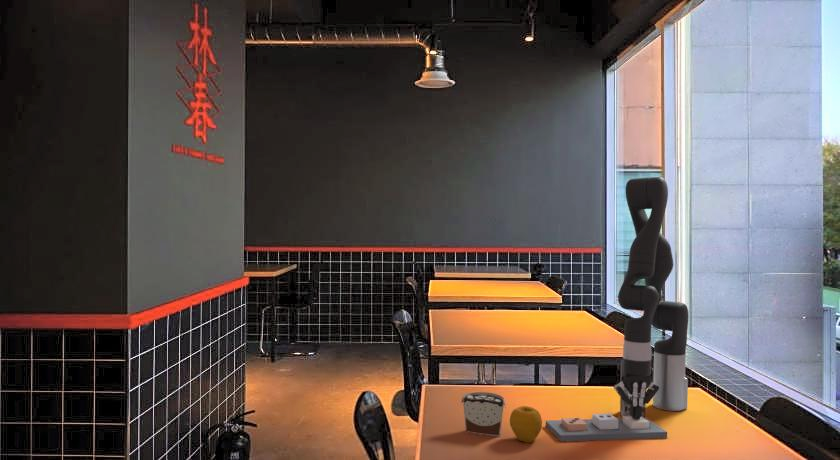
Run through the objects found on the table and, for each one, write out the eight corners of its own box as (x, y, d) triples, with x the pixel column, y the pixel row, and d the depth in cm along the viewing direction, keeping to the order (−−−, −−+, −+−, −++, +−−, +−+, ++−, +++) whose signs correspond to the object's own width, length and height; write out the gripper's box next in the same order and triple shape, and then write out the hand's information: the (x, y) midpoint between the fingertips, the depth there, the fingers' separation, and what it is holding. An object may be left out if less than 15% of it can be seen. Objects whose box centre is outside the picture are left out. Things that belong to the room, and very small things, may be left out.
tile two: (609, 422, 175) (610, 412, 175) (618, 428, 170) (618, 418, 170) (592, 423, 174) (592, 413, 174) (600, 429, 169) (600, 419, 169)
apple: (507, 434, 169) (508, 401, 169) (538, 434, 169) (539, 402, 169) (511, 445, 161) (511, 411, 161) (544, 446, 160) (544, 412, 160)
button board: (645, 423, 180) (645, 417, 180) (667, 437, 168) (667, 431, 168) (545, 426, 176) (545, 420, 176) (560, 441, 164) (560, 435, 164)
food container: (509, 430, 173) (510, 394, 172) (505, 437, 167) (505, 400, 167) (466, 424, 177) (466, 389, 176) (460, 431, 171) (461, 395, 171)
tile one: (640, 424, 176) (640, 415, 176) (649, 431, 171) (649, 421, 171) (622, 425, 175) (622, 415, 175) (631, 431, 170) (631, 421, 170)
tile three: (579, 426, 174) (579, 416, 174) (586, 433, 169) (586, 423, 169) (561, 427, 173) (561, 417, 173) (568, 433, 168) (568, 423, 168)
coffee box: (646, 422, 181) (647, 367, 180) (623, 420, 182) (624, 365, 182) (641, 412, 190) (642, 360, 189) (619, 411, 191) (620, 358, 190)
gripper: (652, 353, 177) (651, 413, 178) (608, 354, 176) (607, 414, 176) (666, 359, 170) (664, 422, 170) (620, 360, 168) (619, 423, 168)
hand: (635, 418), depth 173 cm, fingers closed
